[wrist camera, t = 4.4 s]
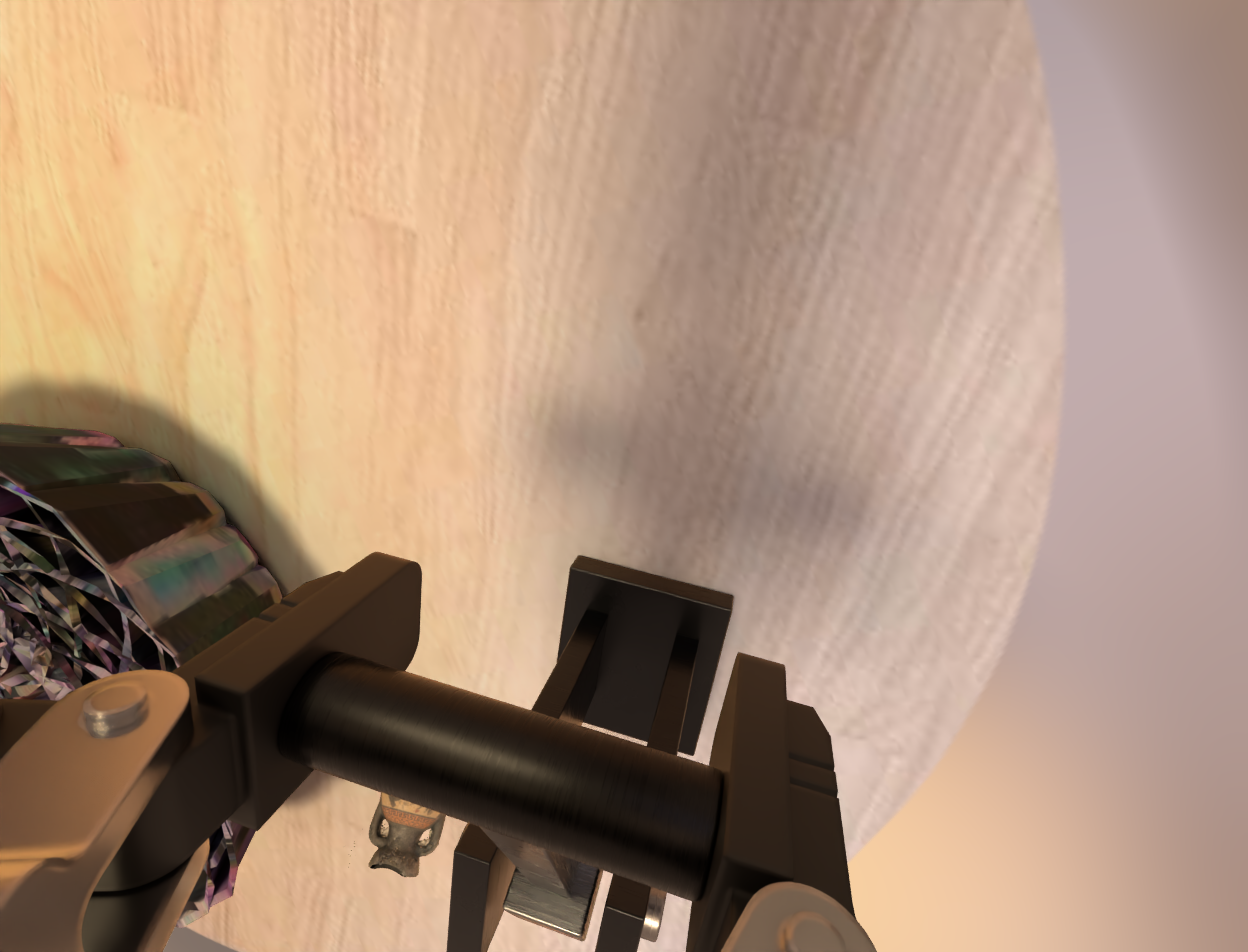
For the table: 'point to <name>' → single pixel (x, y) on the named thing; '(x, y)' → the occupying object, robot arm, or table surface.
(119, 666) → the decorative bowl
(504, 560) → the table surface
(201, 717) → the robot arm
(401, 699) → the lever
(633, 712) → the bracket
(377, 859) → the vase
